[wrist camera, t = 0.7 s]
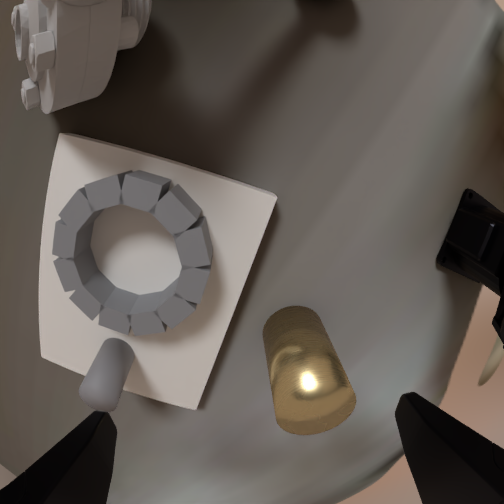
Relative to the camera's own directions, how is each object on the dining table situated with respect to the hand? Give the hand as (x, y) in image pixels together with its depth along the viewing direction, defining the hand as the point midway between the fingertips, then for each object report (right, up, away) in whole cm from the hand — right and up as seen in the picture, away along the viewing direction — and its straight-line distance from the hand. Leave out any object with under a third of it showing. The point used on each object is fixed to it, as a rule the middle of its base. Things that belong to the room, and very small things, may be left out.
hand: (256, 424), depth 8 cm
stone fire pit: (-8, +3, +13) cm, 15 cm away
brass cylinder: (+3, -1, +15) cm, 15 cm away
